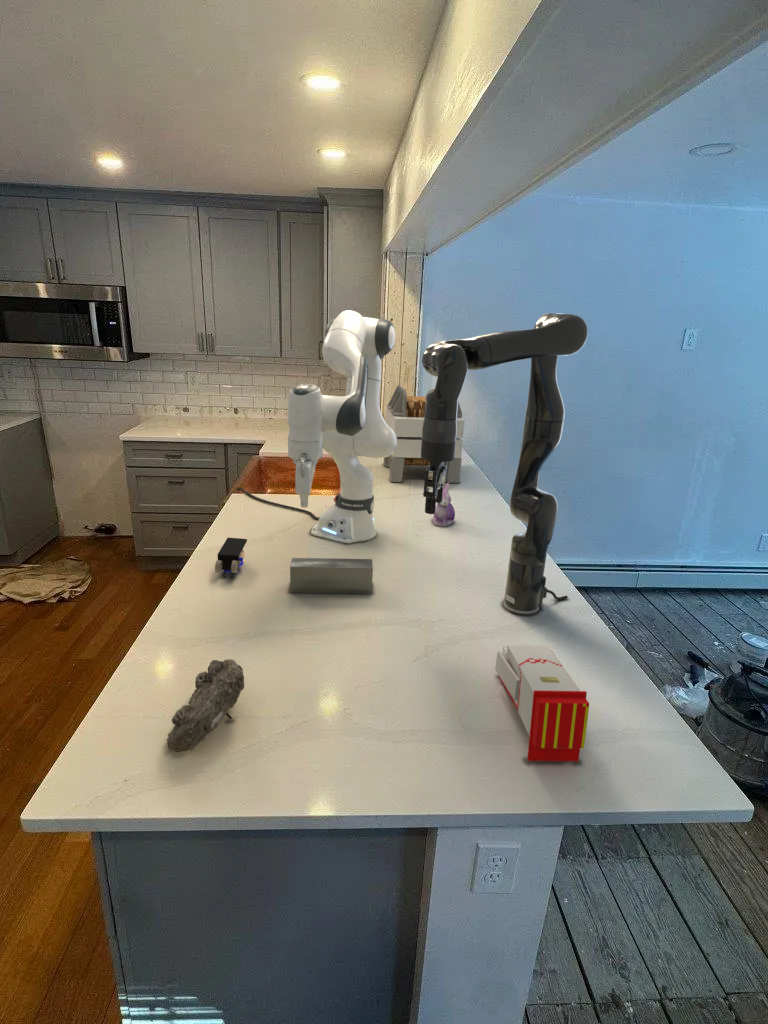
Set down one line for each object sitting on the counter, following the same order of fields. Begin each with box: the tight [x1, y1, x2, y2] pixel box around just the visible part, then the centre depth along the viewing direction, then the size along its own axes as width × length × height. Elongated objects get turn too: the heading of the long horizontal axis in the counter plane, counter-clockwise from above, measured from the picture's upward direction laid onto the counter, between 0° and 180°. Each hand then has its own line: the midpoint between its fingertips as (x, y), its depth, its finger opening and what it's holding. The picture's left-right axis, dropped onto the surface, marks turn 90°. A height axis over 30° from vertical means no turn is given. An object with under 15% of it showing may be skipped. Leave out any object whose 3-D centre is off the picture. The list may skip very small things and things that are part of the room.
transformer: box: [383, 384, 465, 484], centre depth 268 cm, size 34×33×41 cm
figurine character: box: [214, 537, 248, 578], centre depth 166 cm, size 7×8×15 cm
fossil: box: [166, 658, 245, 754], centre depth 106 cm, size 22×10×15 cm
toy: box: [494, 644, 590, 762], centre depth 112 cm, size 12×13×30 cm
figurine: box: [432, 482, 456, 527], centre depth 210 cm, size 9×10×15 cm
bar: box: [289, 557, 374, 594], centre depth 158 cm, size 22×6×8 cm, turn 93°
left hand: (305, 500), depth 150 cm, fingers open, 8 cm apart
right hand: (433, 507), depth 130 cm, fingers open, 8 cm apart
